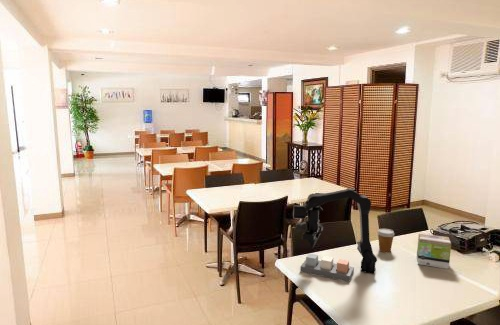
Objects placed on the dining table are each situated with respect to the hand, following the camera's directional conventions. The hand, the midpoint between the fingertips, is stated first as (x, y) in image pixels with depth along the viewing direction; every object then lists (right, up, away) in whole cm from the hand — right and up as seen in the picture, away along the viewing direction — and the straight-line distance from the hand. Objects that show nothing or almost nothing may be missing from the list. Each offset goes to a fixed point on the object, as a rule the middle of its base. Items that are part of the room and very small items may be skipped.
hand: (312, 247), depth 182 cm
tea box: (+67, -11, +8) cm, 68 cm away
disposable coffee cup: (+48, -8, +26) cm, 55 cm away
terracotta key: (+14, -11, -6) cm, 19 cm away
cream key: (+7, -10, -2) cm, 13 cm away
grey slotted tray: (+7, -12, -2) cm, 14 cm away
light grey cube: (0, -10, +1) cm, 10 cm away
